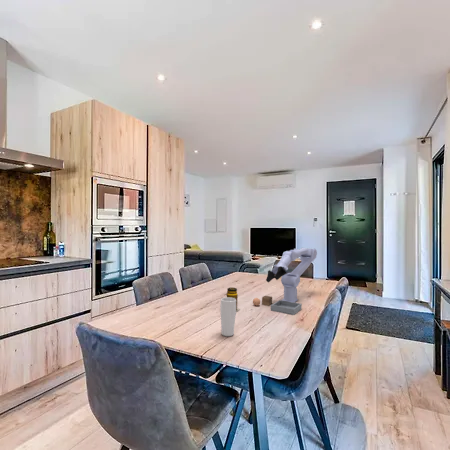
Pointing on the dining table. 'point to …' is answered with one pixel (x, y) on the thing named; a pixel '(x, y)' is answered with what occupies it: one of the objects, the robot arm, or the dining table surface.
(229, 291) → the condiment
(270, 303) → the cube
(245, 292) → the dining table surface
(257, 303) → the ball
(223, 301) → the drinking glass
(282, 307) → the tray
